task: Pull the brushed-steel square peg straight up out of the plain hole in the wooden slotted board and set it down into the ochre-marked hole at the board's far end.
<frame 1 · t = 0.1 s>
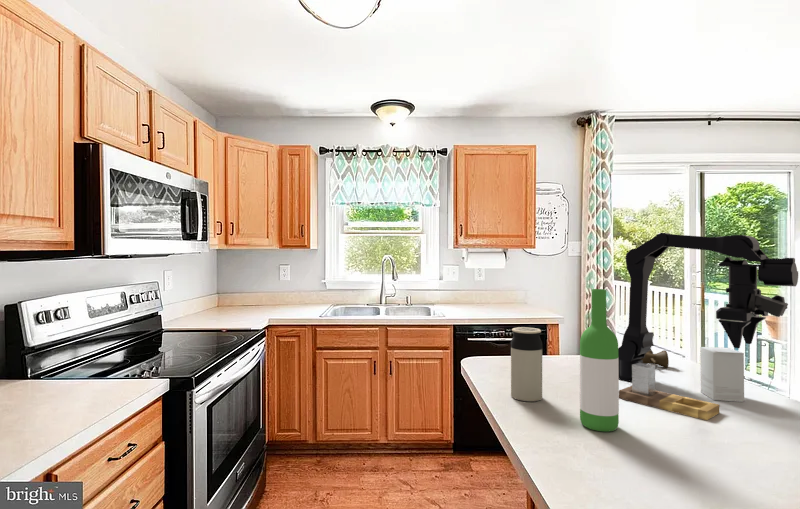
hand: (742, 345, 112), 15 cm above the countertop, fingers open, 9 cm apart
kendama: (649, 365, 153), on the countertop
wine bottle: (599, 427, 96), on the countertop
peg: (643, 399, 115), resting in wooden slotted board
supplement box: (721, 397, 117), on the countertop
wooden slotted board: (666, 405, 110), on the countertop
travel mug: (526, 398, 116), on the countertop
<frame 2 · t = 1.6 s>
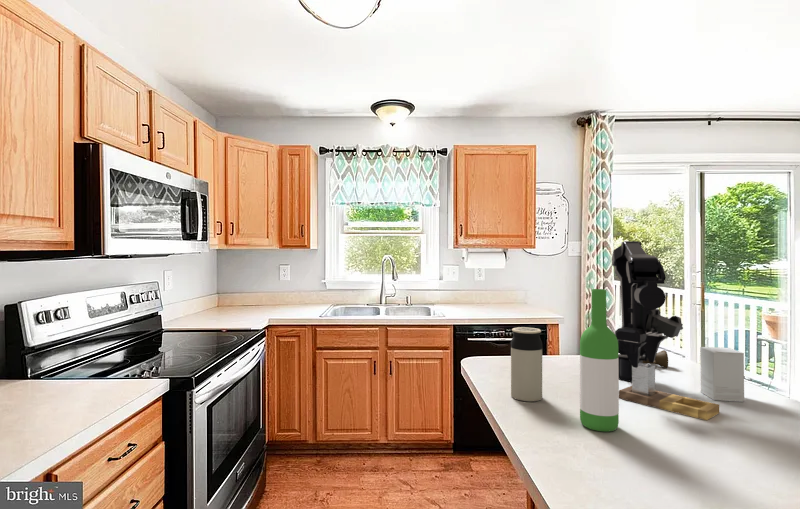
hand: (643, 364, 115), 9 cm above the countertop, fingers open, 9 cm apart
nothing on the countertop moved.
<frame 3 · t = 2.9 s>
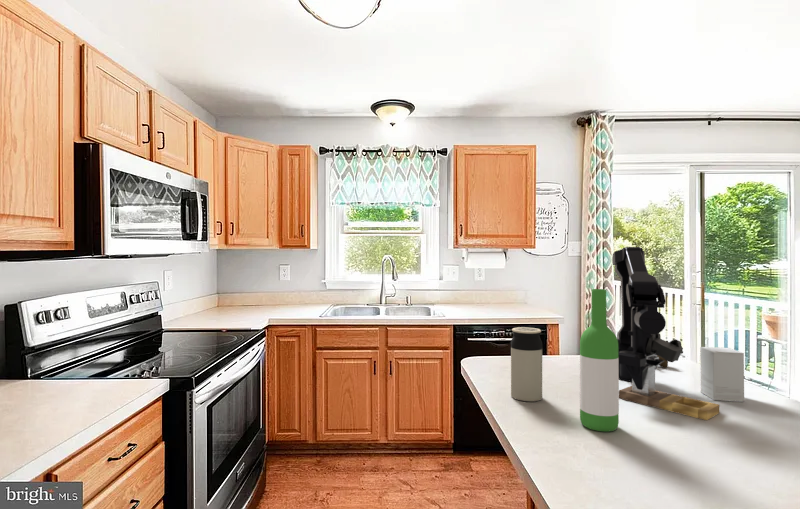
hand: (643, 387, 115), 3 cm above the countertop, fingers closed on peg, 4 cm apart
peg: (643, 399, 115), resting in wooden slotted board, touching gripper
everything else where it was.
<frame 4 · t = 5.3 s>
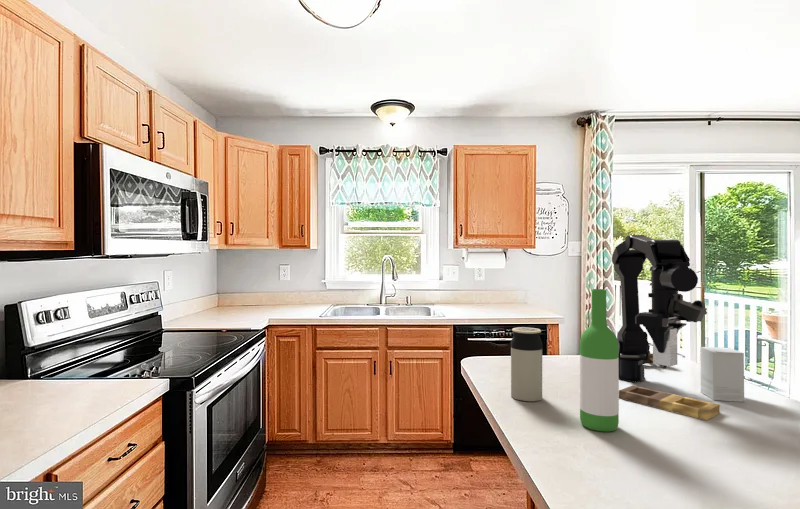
hand: (665, 351, 110), 13 cm above the countertop, fingers closed on peg, 4 cm apart
peg: (665, 363, 110), point 10 cm above the countertop, touching gripper
everything else where it was.
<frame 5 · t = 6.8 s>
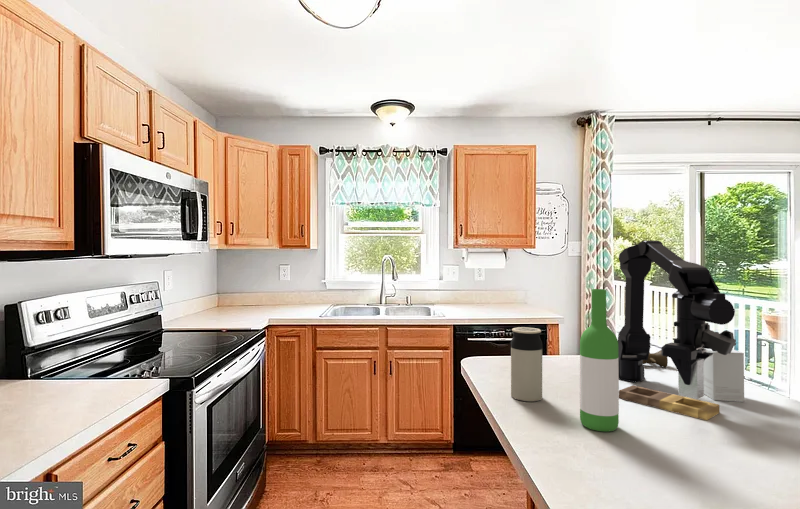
hand: (691, 383, 106), 7 cm above the countertop, fingers closed on peg, 4 cm apart
peg: (691, 395, 106), point 4 cm above the countertop, touching gripper
everything else where it was.
when the fingers open (4 cm above the countertop, at t = 8.1 s): peg stays where it is, resting in wooden slotted board.
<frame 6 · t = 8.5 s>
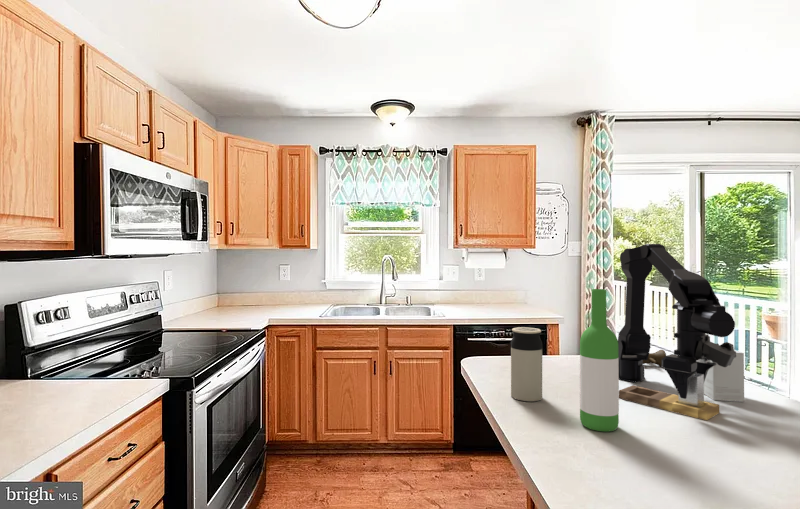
hand: (691, 394, 106), 4 cm above the countertop, fingers open, 9 cm apart
peg: (691, 411, 106), resting in wooden slotted board
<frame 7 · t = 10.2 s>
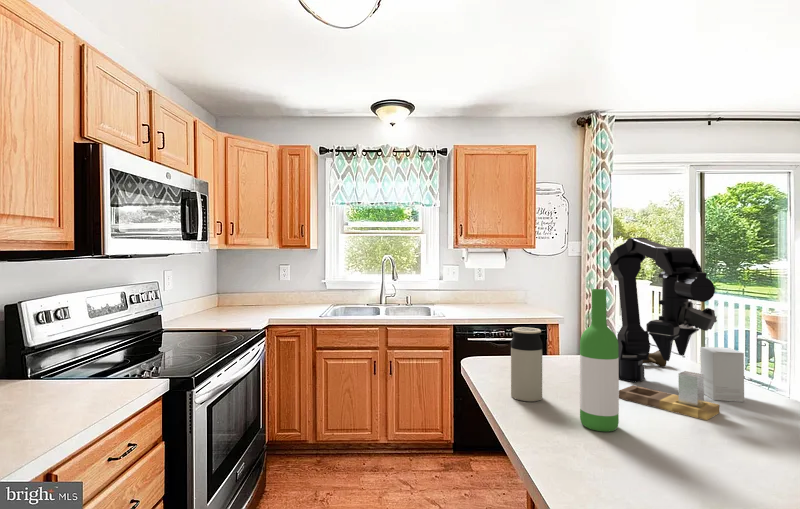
hand: (674, 357, 112), 11 cm above the countertop, fingers open, 9 cm apart
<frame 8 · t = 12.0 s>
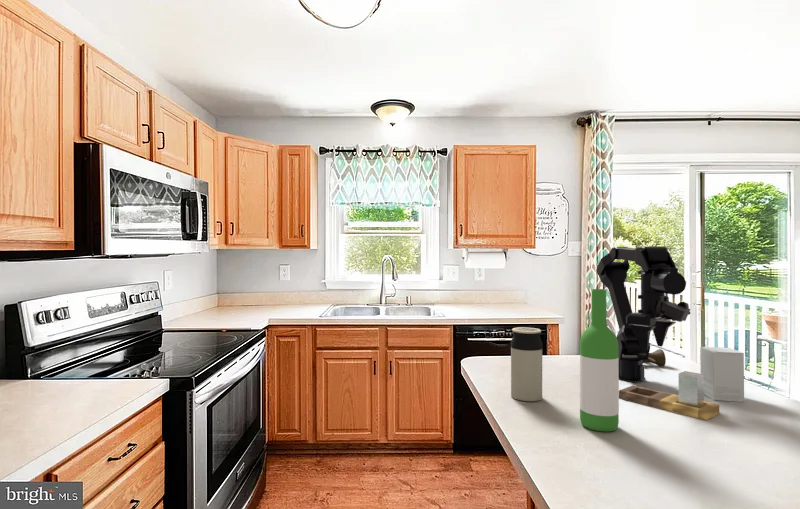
hand: (652, 348, 121), 12 cm above the countertop, fingers open, 9 cm apart
at the end: peg 0.0 cm from the target spot on the wooden slotted board, point 0.0 cm above the wooden slotted board's base; peg tilted 0°; the gripper is holding nothing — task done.
